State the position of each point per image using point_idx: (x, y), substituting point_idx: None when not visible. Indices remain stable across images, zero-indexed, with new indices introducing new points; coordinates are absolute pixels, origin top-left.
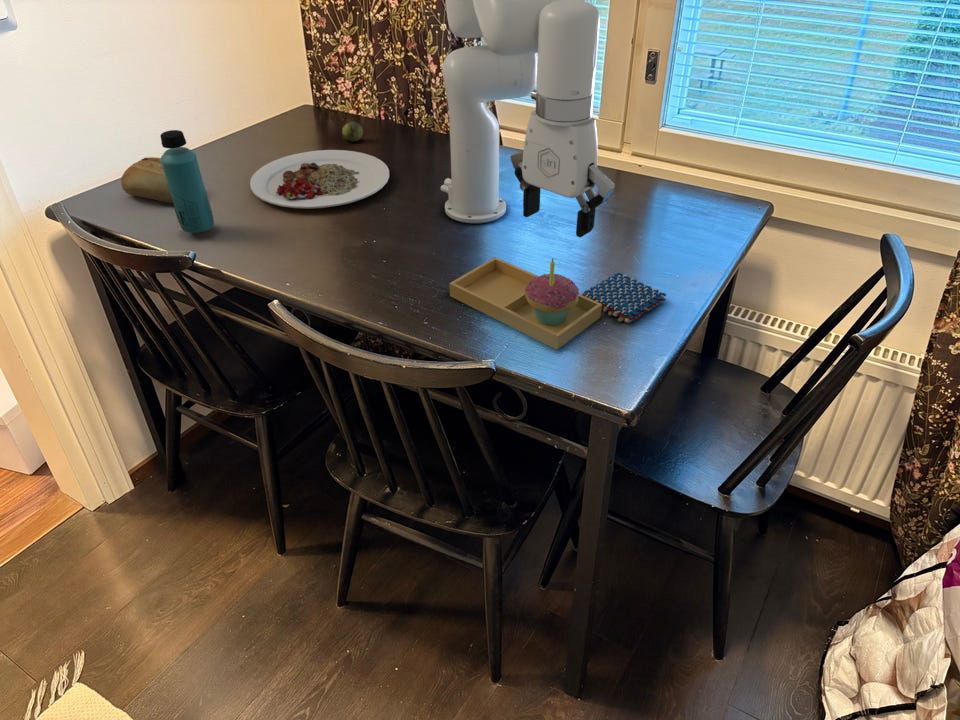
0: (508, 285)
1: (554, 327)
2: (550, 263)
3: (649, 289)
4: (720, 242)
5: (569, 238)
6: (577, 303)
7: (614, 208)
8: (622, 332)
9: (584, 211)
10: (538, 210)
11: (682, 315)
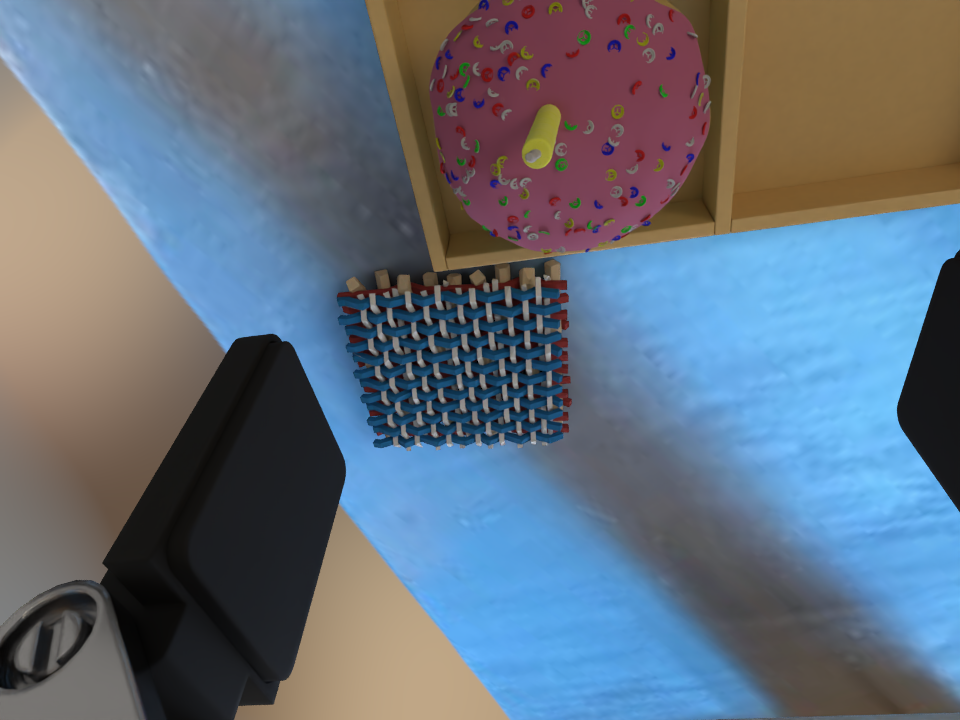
0: (873, 113)
1: None
2: (541, 137)
3: (431, 436)
4: (504, 648)
5: (843, 480)
6: None
7: (813, 628)
8: (327, 235)
9: (78, 591)
10: (902, 411)
11: None
